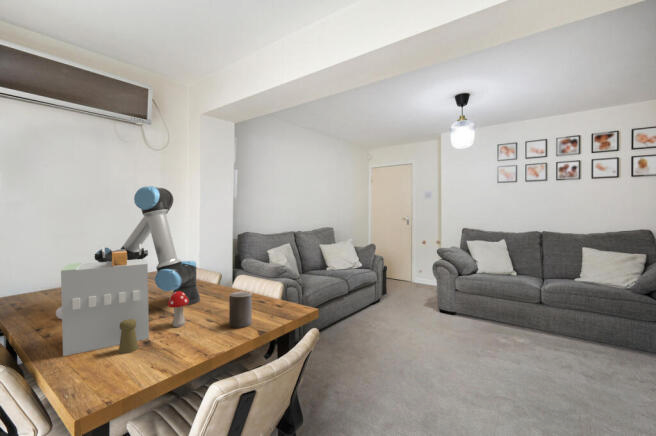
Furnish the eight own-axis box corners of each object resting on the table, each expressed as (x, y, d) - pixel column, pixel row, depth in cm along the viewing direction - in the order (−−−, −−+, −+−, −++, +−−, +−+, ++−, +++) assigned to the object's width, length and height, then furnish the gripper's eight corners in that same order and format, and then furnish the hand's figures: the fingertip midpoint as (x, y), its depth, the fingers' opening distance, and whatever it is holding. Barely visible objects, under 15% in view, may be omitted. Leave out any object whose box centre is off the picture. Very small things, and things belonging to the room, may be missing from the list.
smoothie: (83, 309, 153) (71, 316, 140) (70, 316, 151) (56, 325, 138) (76, 298, 152) (62, 305, 139) (62, 306, 150) (47, 313, 137)
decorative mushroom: (169, 322, 138) (168, 289, 137) (189, 319, 141) (189, 287, 141) (166, 330, 129) (166, 295, 128) (189, 327, 132) (188, 293, 132)
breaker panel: (70, 340, 119) (68, 264, 119) (146, 326, 134) (145, 258, 133) (62, 357, 105) (60, 270, 105) (149, 339, 120) (147, 263, 119)
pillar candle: (231, 329, 129) (231, 295, 128) (227, 322, 137) (227, 289, 137) (254, 326, 133) (254, 292, 133) (249, 319, 142) (249, 287, 142)
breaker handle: (115, 257, 135) (114, 246, 135) (127, 256, 138) (127, 246, 137) (112, 266, 113) (112, 253, 113) (126, 264, 116) (126, 252, 116)
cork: (124, 346, 113) (124, 317, 113) (141, 345, 114) (141, 316, 114) (114, 354, 107) (114, 323, 107) (132, 353, 108) (132, 322, 108)
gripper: (90, 261, 143) (86, 241, 128) (151, 256, 157) (154, 238, 142) (90, 276, 140) (86, 258, 125) (152, 269, 154) (155, 252, 139)
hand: (122, 247), depth 133 cm, fingers open, 13 cm apart
